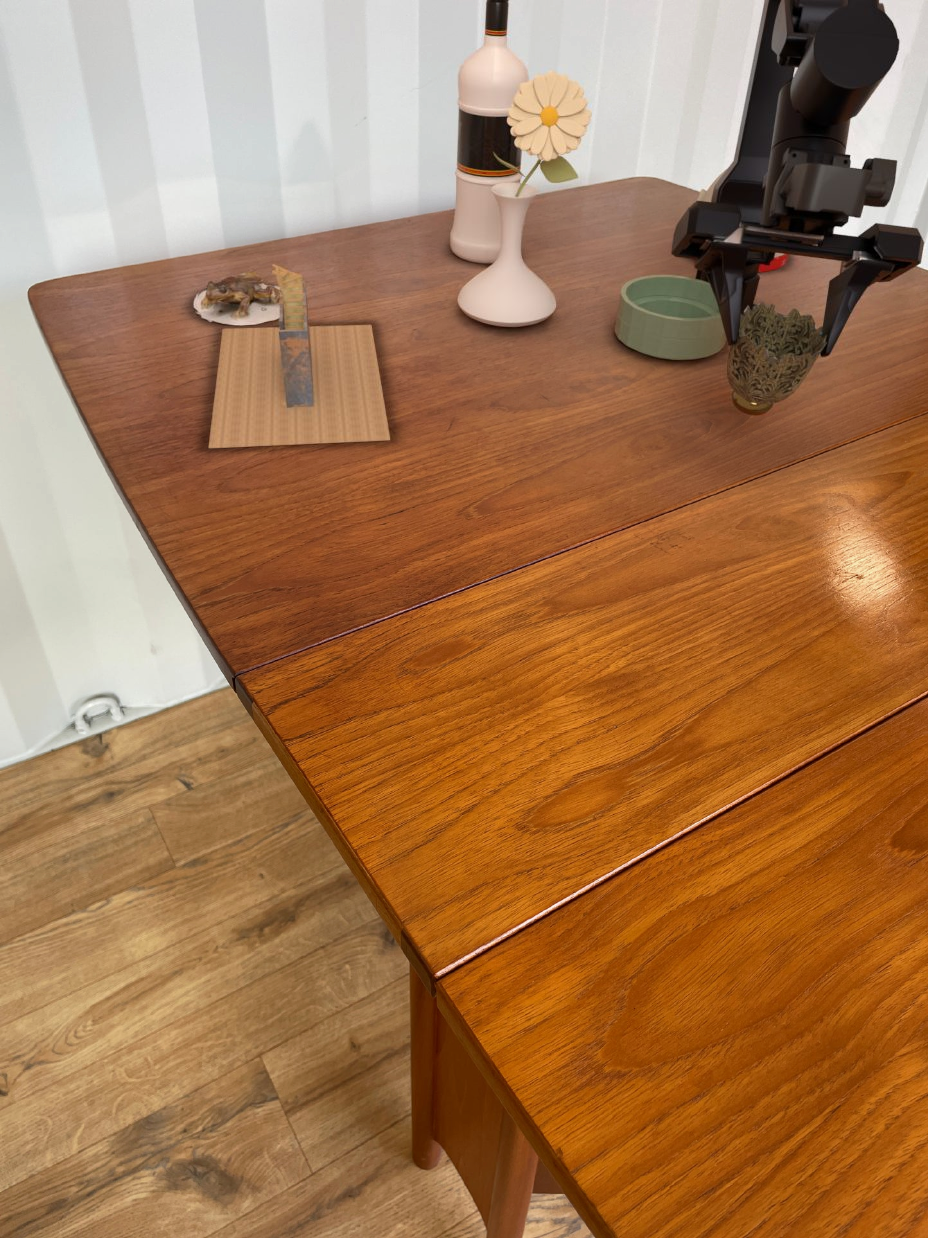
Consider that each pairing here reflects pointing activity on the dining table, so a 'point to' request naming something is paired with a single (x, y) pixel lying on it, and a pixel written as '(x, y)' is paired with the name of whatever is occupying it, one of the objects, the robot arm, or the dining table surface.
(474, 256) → the vodka
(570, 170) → the flower in vase
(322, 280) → the dining table surface
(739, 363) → the cup
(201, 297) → the frog figurine
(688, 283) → the bowl
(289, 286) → the ruin model on sheet
